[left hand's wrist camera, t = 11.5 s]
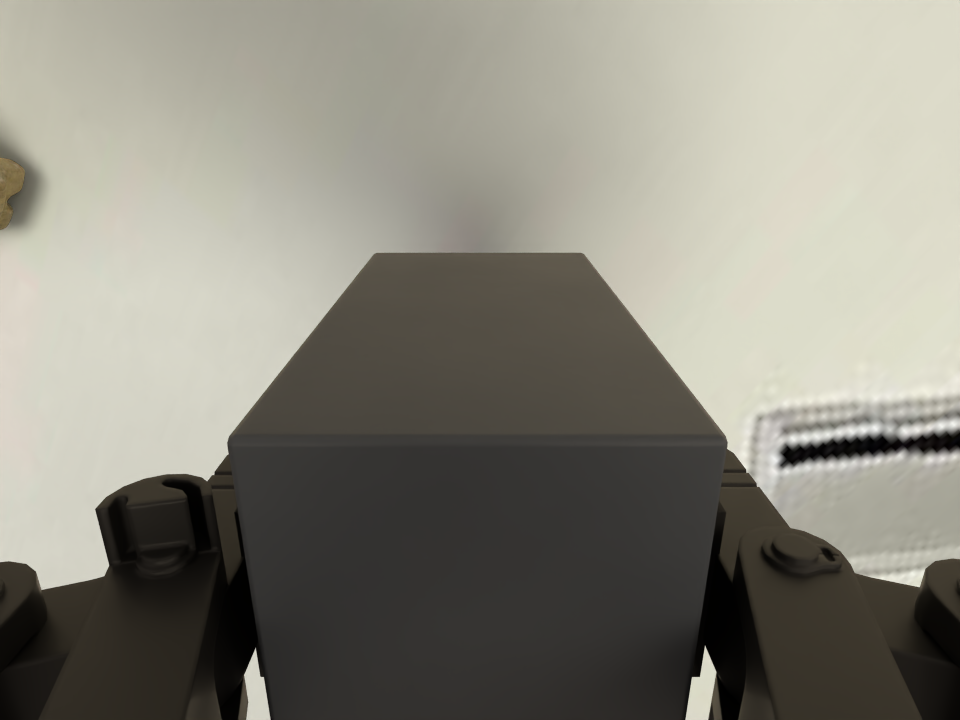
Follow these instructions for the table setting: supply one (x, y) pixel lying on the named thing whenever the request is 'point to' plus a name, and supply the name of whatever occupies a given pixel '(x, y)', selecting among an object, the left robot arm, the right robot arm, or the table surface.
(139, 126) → the table surface
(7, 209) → the sculpture
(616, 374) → the bar
